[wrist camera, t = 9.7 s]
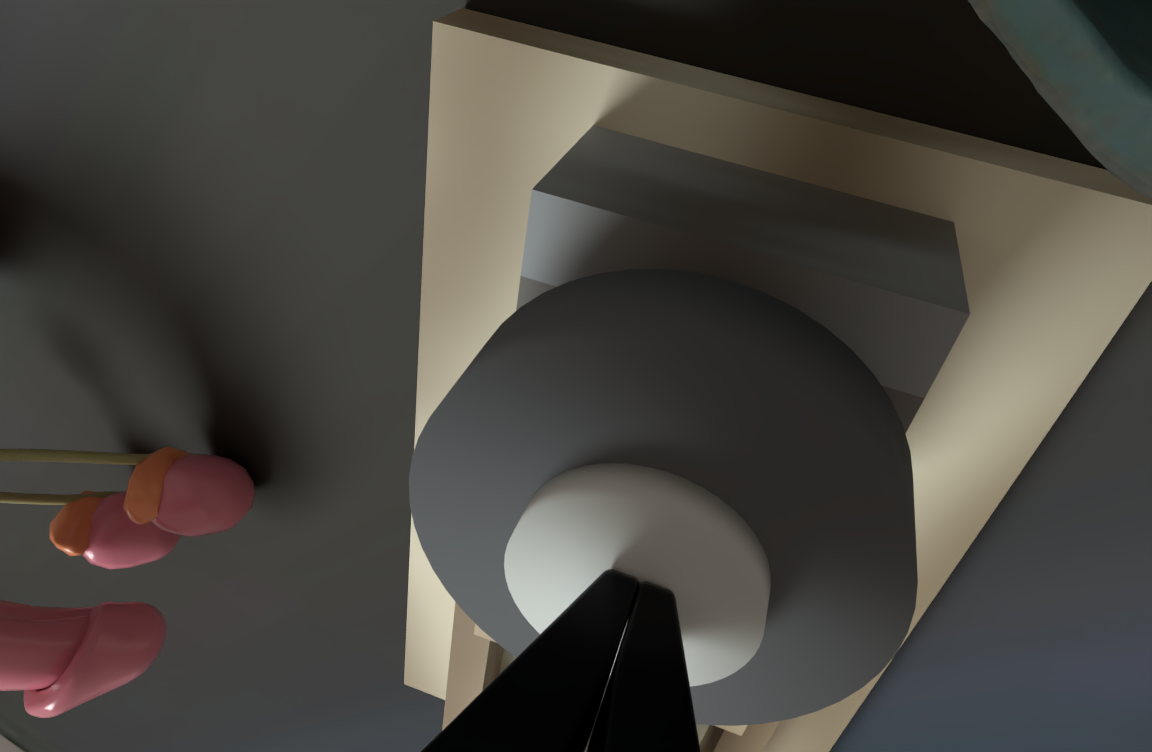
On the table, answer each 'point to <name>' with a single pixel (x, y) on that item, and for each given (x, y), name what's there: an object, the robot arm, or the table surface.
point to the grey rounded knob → (679, 484)
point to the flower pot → (1088, 72)
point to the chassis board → (765, 269)
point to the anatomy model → (112, 540)
